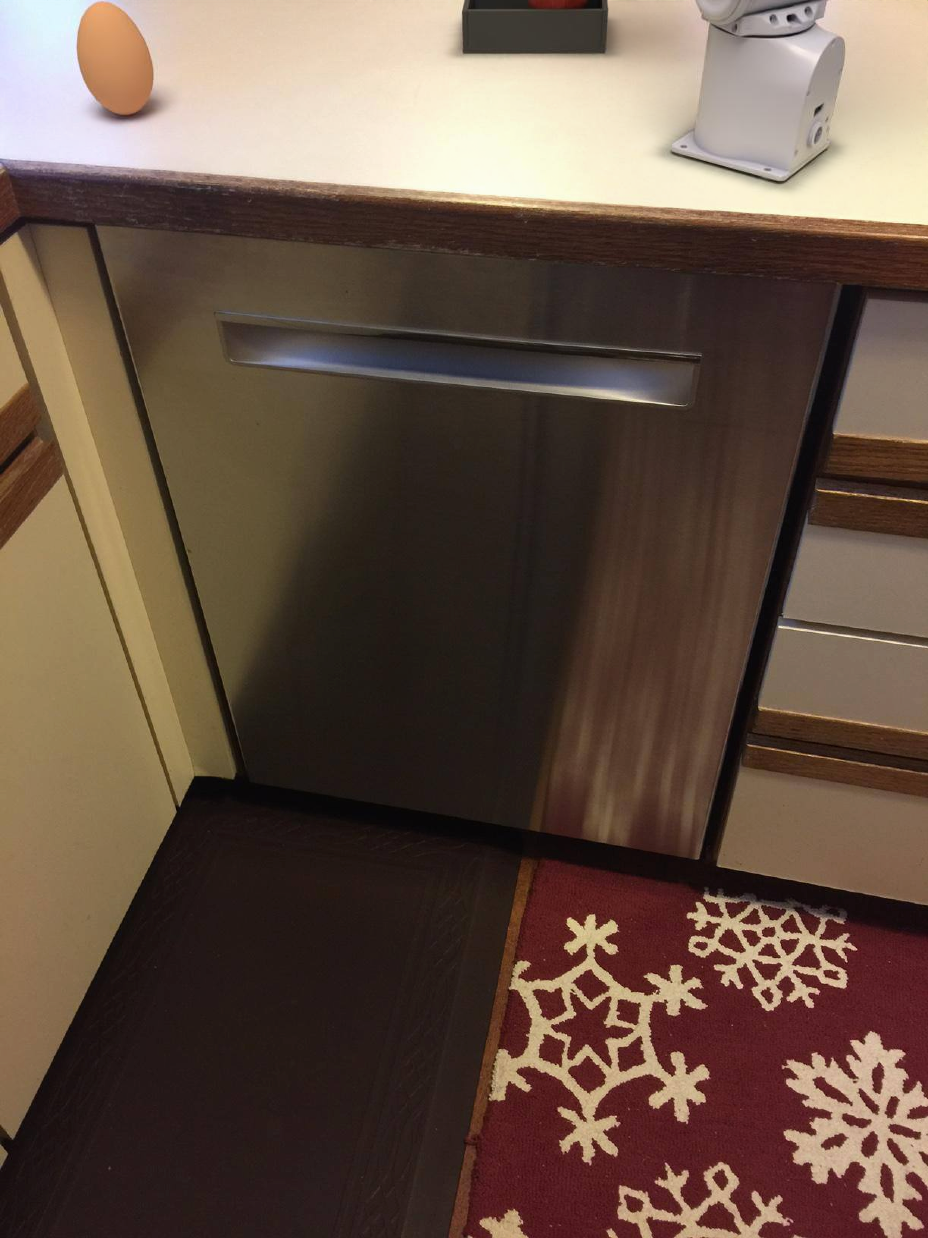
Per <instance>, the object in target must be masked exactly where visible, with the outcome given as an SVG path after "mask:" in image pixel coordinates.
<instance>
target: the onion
mask: <svg viewBox="0 0 928 1238" xmlns="http://www.w3.org/2000/svg"><path fill="white" fill-rule="evenodd" d="M586 2H587V0H528V3H529V5H530V7H531V9H583V7H584V6H585V4H586Z"/></svg>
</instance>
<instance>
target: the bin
mask: <svg viewBox="0 0 928 1238" xmlns="http://www.w3.org/2000/svg"><path fill="white" fill-rule="evenodd" d="M608 1H609V0H587V2H586V4H585V6H584V7H583V9H531V7H530V5H529V3H528V0H464V1H463V4H462V9H461V31H462V33H461V34H462V54H606V50H607V49H606V48H607V47H606V46H607V35H608V19H609V2H608Z"/></svg>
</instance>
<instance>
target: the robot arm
mask: <svg viewBox="0 0 928 1238" xmlns="http://www.w3.org/2000/svg"><path fill="white" fill-rule="evenodd" d="M694 1H695V4H696V6H697V8H698V10H699V11H700V13H701V20H702V21H705V22H707V23H708V31H707V37H706V45H705V53H704V59H703V60H704V61H703V68H702V75H701V82H700V89H699V97H698V98H699V99H698V104H697V105H698V106H697V113H696V118H695V125H694V126H695V127H694V129H692V130H691V131H690V132H688V133H686V134H685V135H683V136H682V137H681V138H679V139H677V140H676V141H674V142H673V143H671V145H670V151H671V152H673V153H675V154H679V155H682V156H686V157H690V158H693V159H697V160H699V161H704V162H708V163H711V164H714V165H715V164H716V165H719V166H723V167H726V168H729V169H733V170H736V171H740V172H744V173H747V174H750V175H755V176H758V177H762V178H765V179H768V180H772V181H776V182H784V181H786V180H788V179H789V178H790V177H792V175H794V174H795V173H797V171H799V170H800V169H801V168H803V167H804V166H806V164H808V163H809V162H810V161H812V160H813V159H815V158H816V157H817V156H818V155H820V153H822V152H823V151H825V150H826V149H827V148H828V147H829V146H830V142H831V141H830V139H829V138H828V137H829V131H830V127H831V123H832V118H833V116H834V115H833V114H834V110H835V105H836V101H837V96H838V93H839V88H840V85H841V84H840V83H841V79H842V75H843V70H844V66H845V58H846V44H845V43H846V42H845V39H844V38H843V37H842V36H840V35H839V34H836V33H833V32H830V31H828V30H826V29H824V28H823V27H821V26H819V25H818V23H817V22H816V21H818V20H820V19H823V18H824V17H825V13H826V7H827V3H828V1H829V0H694Z"/></svg>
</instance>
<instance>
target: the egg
mask: <svg viewBox="0 0 928 1238" xmlns="http://www.w3.org/2000/svg"><path fill="white" fill-rule="evenodd" d="M76 35H77V37H76V57H77V63H78V67H79V71H80V74H81V77H82V80H83V82H84V84H85V86H86V88H87V89H88V92H90V94H91V95H92V97H94V99H95V100H96V102H98V103H99V104H100V105H101V106H103V107H104V108H105V109H107V110H108V111H110V112H112V113H114V114H116V115H120V116H130V115H134V114H136V113H138V112H140V111H141V110H142V109H143V108H144V106H145V105H146V104H147V102H148V101H149V98H150V96H151V93H152V90H153V87H154V79H155V78H154V77H155V76H154V65H153V60H152V56H151V53H150V49H149V47H148V45H147V42H146V40H145V37H144V36H143V34H142V33H141V31H140V29H139V28H138V25H137V24H136V23H135V22H134V20H133V19H132V18H131V16H129V15H128V13H127V12H126V11H124V10H123V9H122V8H121V7H120V6H117V5H116V4H114V3H111V2H108V1H103V0H102V1H96V2H94V3H92V4H91V5H90V6H88V7H87V8H86V10H85V11H84V12H83V14H82V16H81V18H80V22H79V25H78V29H77V34H76Z"/></svg>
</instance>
